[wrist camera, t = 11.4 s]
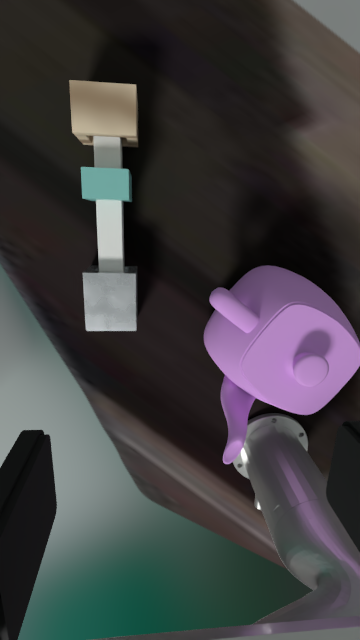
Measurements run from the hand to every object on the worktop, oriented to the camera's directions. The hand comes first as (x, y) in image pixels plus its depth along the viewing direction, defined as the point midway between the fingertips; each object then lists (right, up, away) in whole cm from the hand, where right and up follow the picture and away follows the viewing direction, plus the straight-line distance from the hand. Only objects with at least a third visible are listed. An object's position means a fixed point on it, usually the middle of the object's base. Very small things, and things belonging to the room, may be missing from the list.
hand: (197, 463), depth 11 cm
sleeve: (-9, +8, +35) cm, 37 cm away
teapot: (+11, +3, +39) cm, 40 cm away
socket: (-9, +27, +29) cm, 41 cm away
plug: (-9, +19, +31) cm, 38 cm away
